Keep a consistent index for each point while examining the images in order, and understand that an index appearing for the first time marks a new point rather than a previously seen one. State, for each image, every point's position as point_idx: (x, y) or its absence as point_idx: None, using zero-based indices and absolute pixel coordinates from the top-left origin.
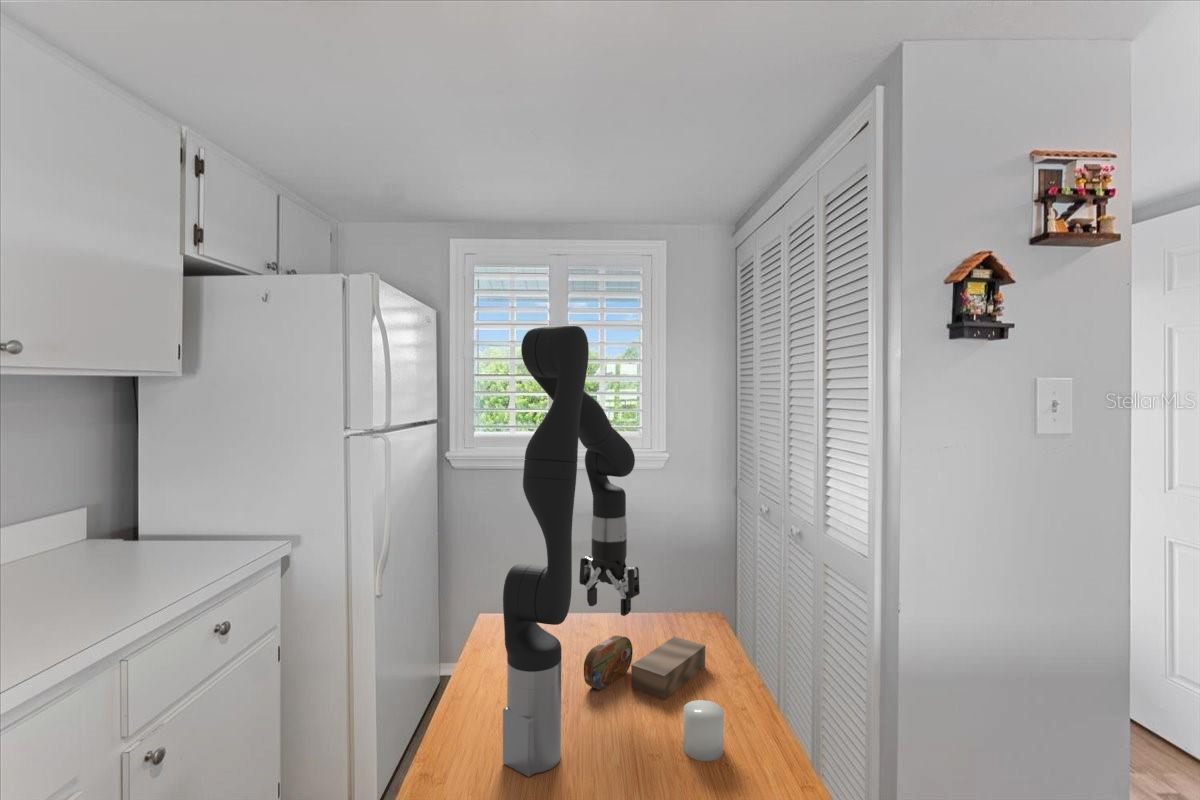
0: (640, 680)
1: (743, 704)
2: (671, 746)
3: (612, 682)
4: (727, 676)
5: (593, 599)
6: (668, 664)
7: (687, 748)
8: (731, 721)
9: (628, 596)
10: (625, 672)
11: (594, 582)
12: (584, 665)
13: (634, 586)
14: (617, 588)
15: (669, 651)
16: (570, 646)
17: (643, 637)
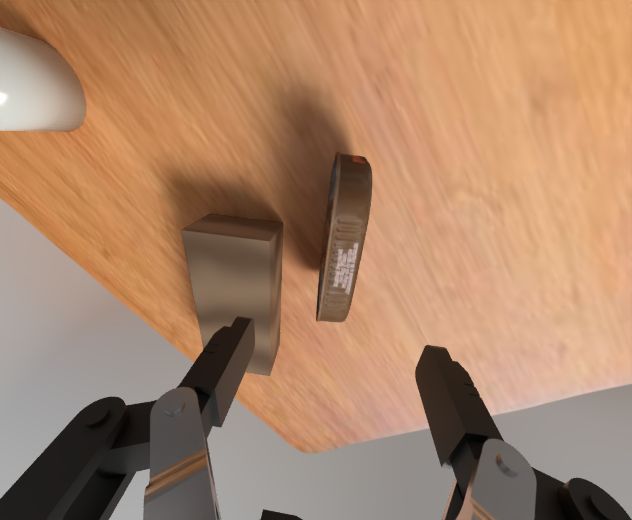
0: (254, 228)
1: (115, 265)
2: (86, 53)
3: (325, 223)
4: (184, 325)
5: (432, 382)
6: (208, 279)
7: (29, 37)
8: (89, 209)
9: (149, 410)
10: (320, 266)
11: (463, 518)
12: (366, 163)
13: (95, 509)
14: (184, 470)
15: None
16: (475, 310)
17: (356, 379)
